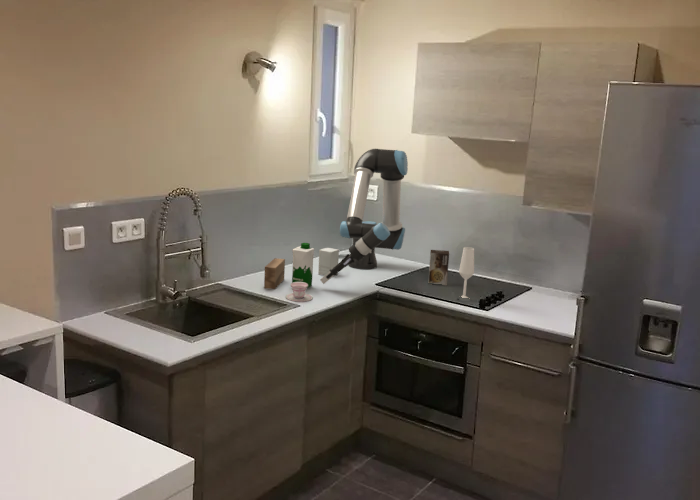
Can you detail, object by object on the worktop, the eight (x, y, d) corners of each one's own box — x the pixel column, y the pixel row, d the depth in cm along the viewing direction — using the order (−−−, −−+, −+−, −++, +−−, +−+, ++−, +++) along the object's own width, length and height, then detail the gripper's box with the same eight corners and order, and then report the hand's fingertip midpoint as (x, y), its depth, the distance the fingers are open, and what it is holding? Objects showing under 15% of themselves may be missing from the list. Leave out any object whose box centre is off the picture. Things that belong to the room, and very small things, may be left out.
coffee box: (446, 282, 346) (449, 250, 342) (446, 285, 340) (449, 253, 336) (427, 280, 347) (430, 249, 343) (427, 284, 340) (430, 252, 337)
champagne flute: (453, 297, 321) (458, 246, 316) (466, 297, 323) (472, 246, 318) (460, 302, 315) (465, 250, 309) (473, 301, 317) (479, 249, 311)
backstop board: (284, 279, 334) (285, 259, 332) (274, 289, 318) (275, 267, 316) (274, 278, 335) (274, 258, 333) (264, 288, 319) (264, 266, 316)
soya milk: (314, 285, 327) (316, 244, 322) (305, 290, 319) (307, 247, 314) (297, 282, 330) (299, 241, 326) (288, 287, 322) (290, 245, 317)
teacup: (285, 293, 313) (285, 280, 311) (312, 294, 314) (312, 281, 313) (285, 301, 301) (286, 288, 300) (313, 302, 303) (314, 288, 301)
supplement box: (338, 274, 349) (339, 249, 346) (329, 277, 343) (331, 252, 340) (326, 271, 353) (327, 247, 350) (317, 274, 347) (318, 249, 344)
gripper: (363, 259, 310) (324, 291, 316) (367, 252, 322) (330, 284, 329) (352, 246, 309) (313, 279, 316) (356, 240, 322) (319, 272, 328)
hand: (322, 281), depth 322 cm, fingers closed
